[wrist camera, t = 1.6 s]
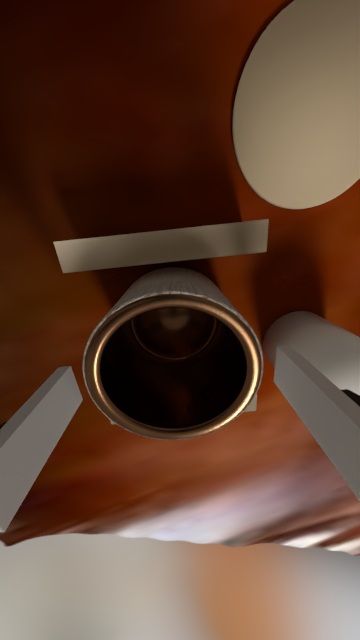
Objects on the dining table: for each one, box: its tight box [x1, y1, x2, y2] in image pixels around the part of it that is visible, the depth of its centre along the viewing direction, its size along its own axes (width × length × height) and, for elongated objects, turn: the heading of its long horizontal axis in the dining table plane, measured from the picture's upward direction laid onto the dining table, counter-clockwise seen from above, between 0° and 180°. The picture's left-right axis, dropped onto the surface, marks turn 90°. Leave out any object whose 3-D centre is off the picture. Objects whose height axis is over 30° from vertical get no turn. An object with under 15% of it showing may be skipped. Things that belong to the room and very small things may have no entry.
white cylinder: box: [263, 311, 360, 395], centre depth 18 cm, size 7×7×8 cm
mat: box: [232, 0, 360, 209], centre depth 14 cm, size 12×12×1 cm
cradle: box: [53, 219, 269, 424], centre depth 18 cm, size 16×14×5 cm
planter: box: [83, 267, 263, 440], centre depth 16 cm, size 11×11×10 cm
